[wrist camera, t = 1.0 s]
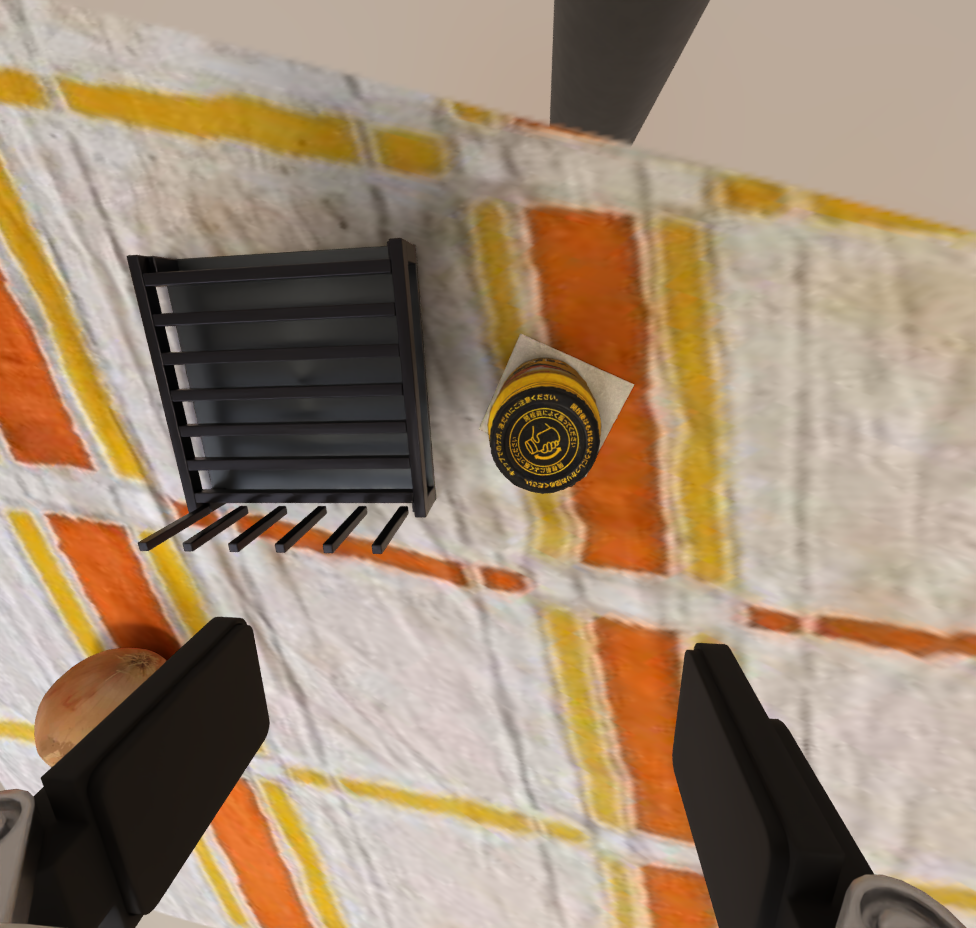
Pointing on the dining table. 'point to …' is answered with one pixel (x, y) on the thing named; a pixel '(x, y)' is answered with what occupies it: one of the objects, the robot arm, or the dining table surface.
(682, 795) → the robot arm
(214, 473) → the dish rack
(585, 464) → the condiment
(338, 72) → the dining table surface
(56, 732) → the onion
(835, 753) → the dining table surface
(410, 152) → the dining table surface
